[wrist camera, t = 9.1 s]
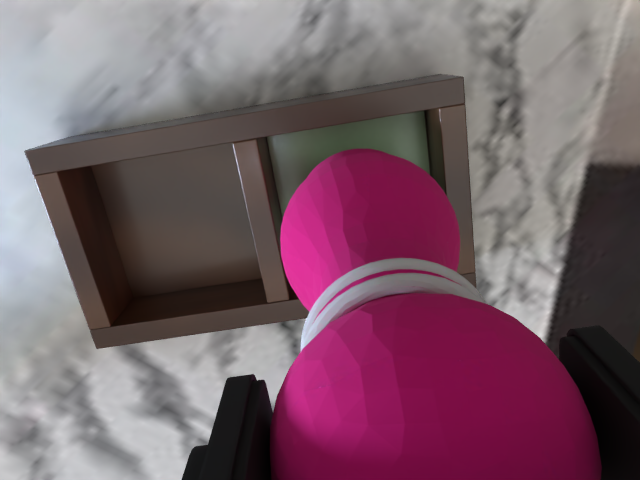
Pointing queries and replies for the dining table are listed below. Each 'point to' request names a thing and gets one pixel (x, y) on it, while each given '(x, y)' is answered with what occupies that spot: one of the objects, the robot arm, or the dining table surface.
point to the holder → (227, 202)
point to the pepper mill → (410, 346)
